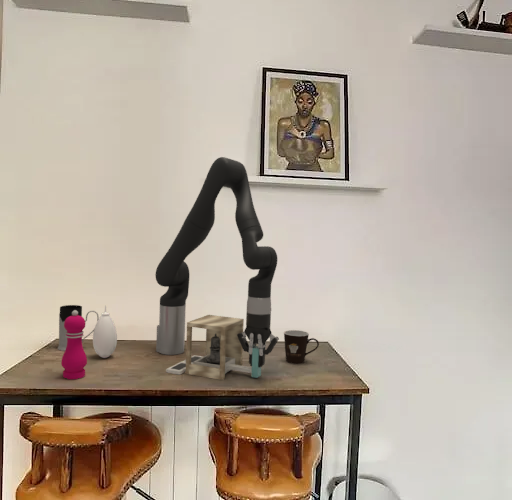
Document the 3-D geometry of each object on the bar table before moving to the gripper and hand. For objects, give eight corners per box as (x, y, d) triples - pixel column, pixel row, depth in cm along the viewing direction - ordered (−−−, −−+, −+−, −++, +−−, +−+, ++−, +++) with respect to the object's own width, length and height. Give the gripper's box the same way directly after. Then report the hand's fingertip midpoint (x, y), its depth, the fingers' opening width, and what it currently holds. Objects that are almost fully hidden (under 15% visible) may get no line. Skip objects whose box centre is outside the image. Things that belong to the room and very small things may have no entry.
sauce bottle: (98, 361, 160) (99, 308, 159) (88, 356, 166) (89, 304, 165) (120, 358, 166) (121, 306, 164) (110, 352, 171) (111, 302, 170)
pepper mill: (71, 381, 140) (72, 313, 139) (55, 376, 144) (56, 310, 143) (91, 375, 147) (93, 310, 145) (76, 370, 150) (77, 307, 149)
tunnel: (185, 373, 152) (186, 322, 151) (207, 361, 165) (208, 314, 164) (223, 380, 147) (224, 327, 146) (241, 367, 160) (243, 318, 159)
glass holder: (62, 344, 180) (62, 304, 179) (100, 345, 181) (101, 305, 180) (53, 350, 172) (54, 308, 171) (94, 351, 173) (95, 309, 172)
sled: (193, 371, 153) (193, 343, 153) (207, 362, 162) (208, 336, 162) (253, 381, 145) (254, 351, 145) (264, 372, 155) (266, 344, 154)
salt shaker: (220, 374, 152) (222, 336, 152) (203, 372, 154) (204, 335, 153) (225, 368, 158) (226, 332, 157) (208, 366, 159) (209, 330, 159)
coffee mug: (277, 360, 169) (278, 332, 168) (293, 356, 175) (294, 329, 175) (304, 368, 161) (305, 339, 161) (319, 363, 168) (320, 335, 167)
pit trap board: (165, 372, 152) (166, 368, 152) (194, 358, 169) (194, 354, 169) (179, 374, 150) (179, 371, 150) (206, 360, 167) (206, 356, 167)
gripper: (233, 310, 148) (231, 366, 149) (275, 315, 143) (273, 373, 144) (243, 306, 155) (241, 360, 156) (283, 311, 150) (281, 366, 151)
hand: (256, 366), depth 150 cm, fingers closed on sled, 2 cm apart
